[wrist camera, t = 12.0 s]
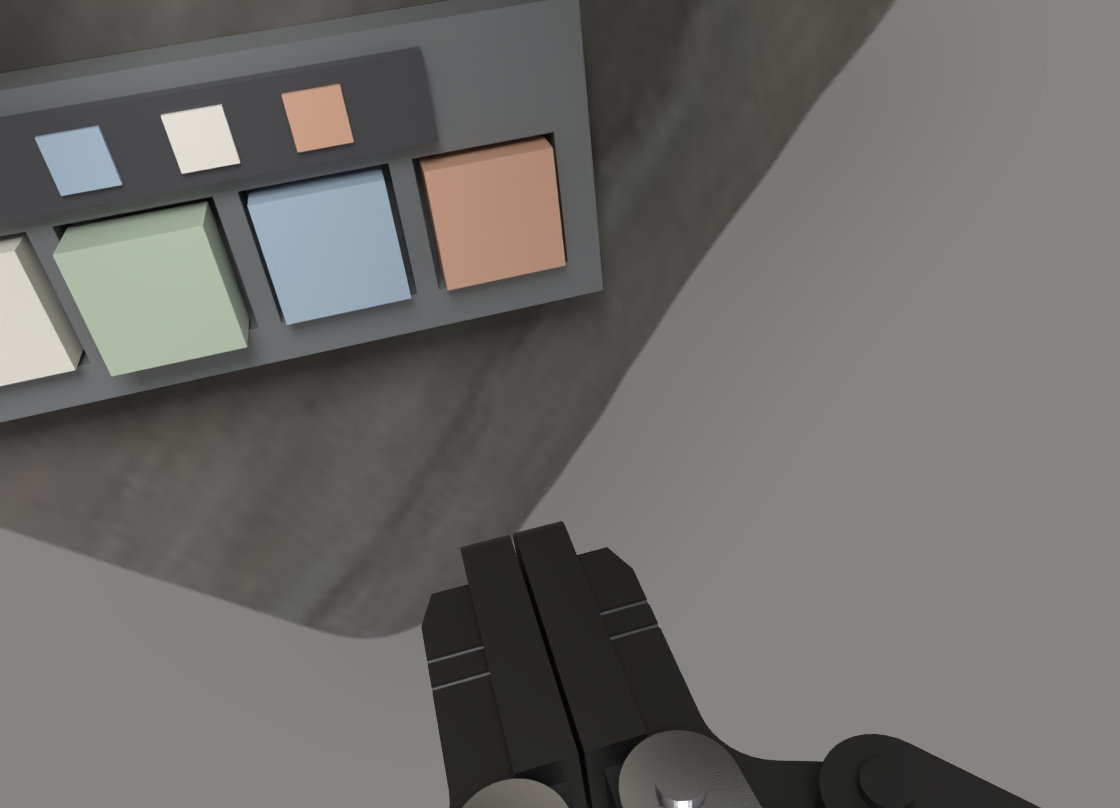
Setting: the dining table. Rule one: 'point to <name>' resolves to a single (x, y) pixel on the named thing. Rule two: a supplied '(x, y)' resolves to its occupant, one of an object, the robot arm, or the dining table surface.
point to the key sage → (154, 287)
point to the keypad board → (472, 111)
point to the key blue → (329, 243)
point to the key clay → (494, 210)
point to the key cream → (31, 317)
